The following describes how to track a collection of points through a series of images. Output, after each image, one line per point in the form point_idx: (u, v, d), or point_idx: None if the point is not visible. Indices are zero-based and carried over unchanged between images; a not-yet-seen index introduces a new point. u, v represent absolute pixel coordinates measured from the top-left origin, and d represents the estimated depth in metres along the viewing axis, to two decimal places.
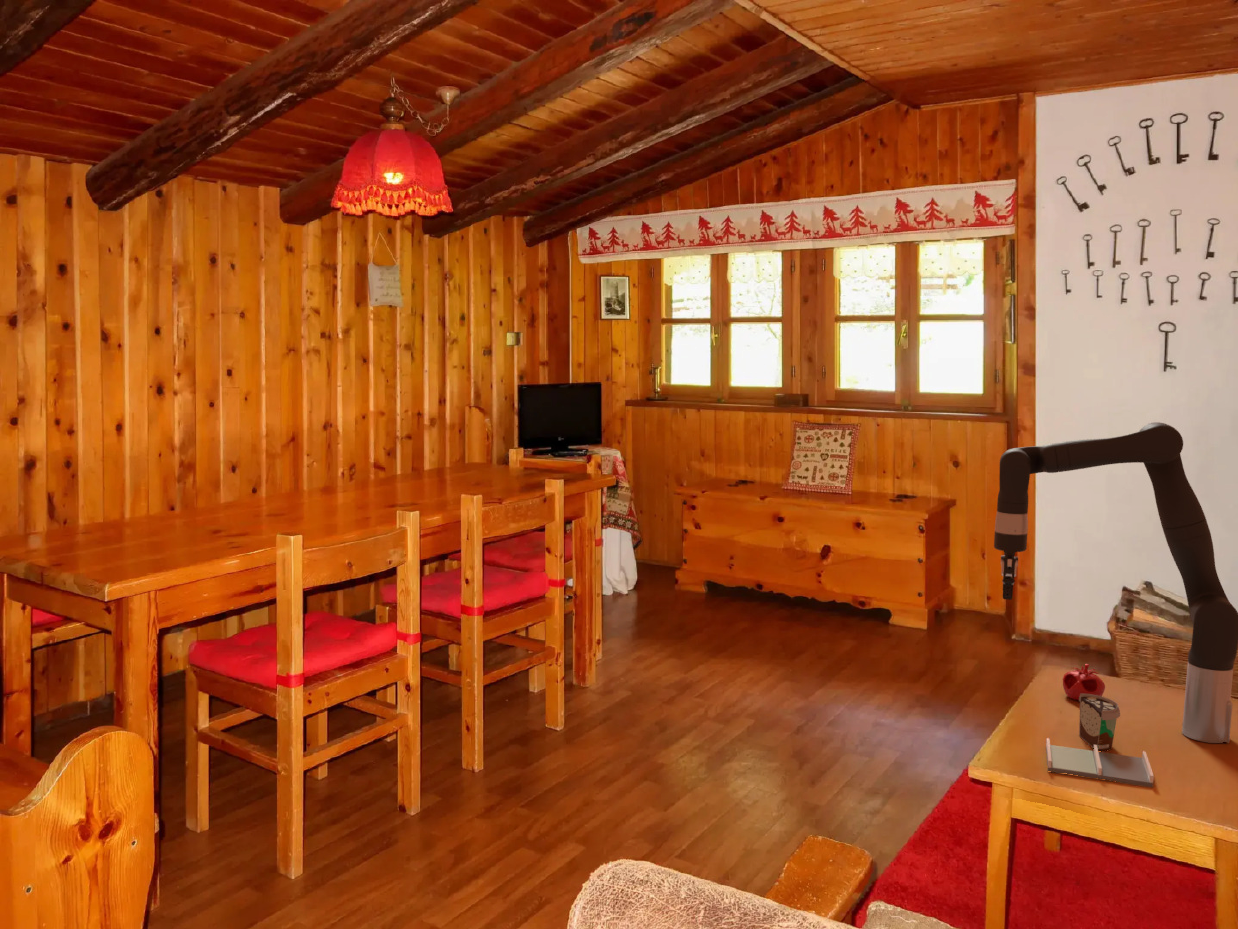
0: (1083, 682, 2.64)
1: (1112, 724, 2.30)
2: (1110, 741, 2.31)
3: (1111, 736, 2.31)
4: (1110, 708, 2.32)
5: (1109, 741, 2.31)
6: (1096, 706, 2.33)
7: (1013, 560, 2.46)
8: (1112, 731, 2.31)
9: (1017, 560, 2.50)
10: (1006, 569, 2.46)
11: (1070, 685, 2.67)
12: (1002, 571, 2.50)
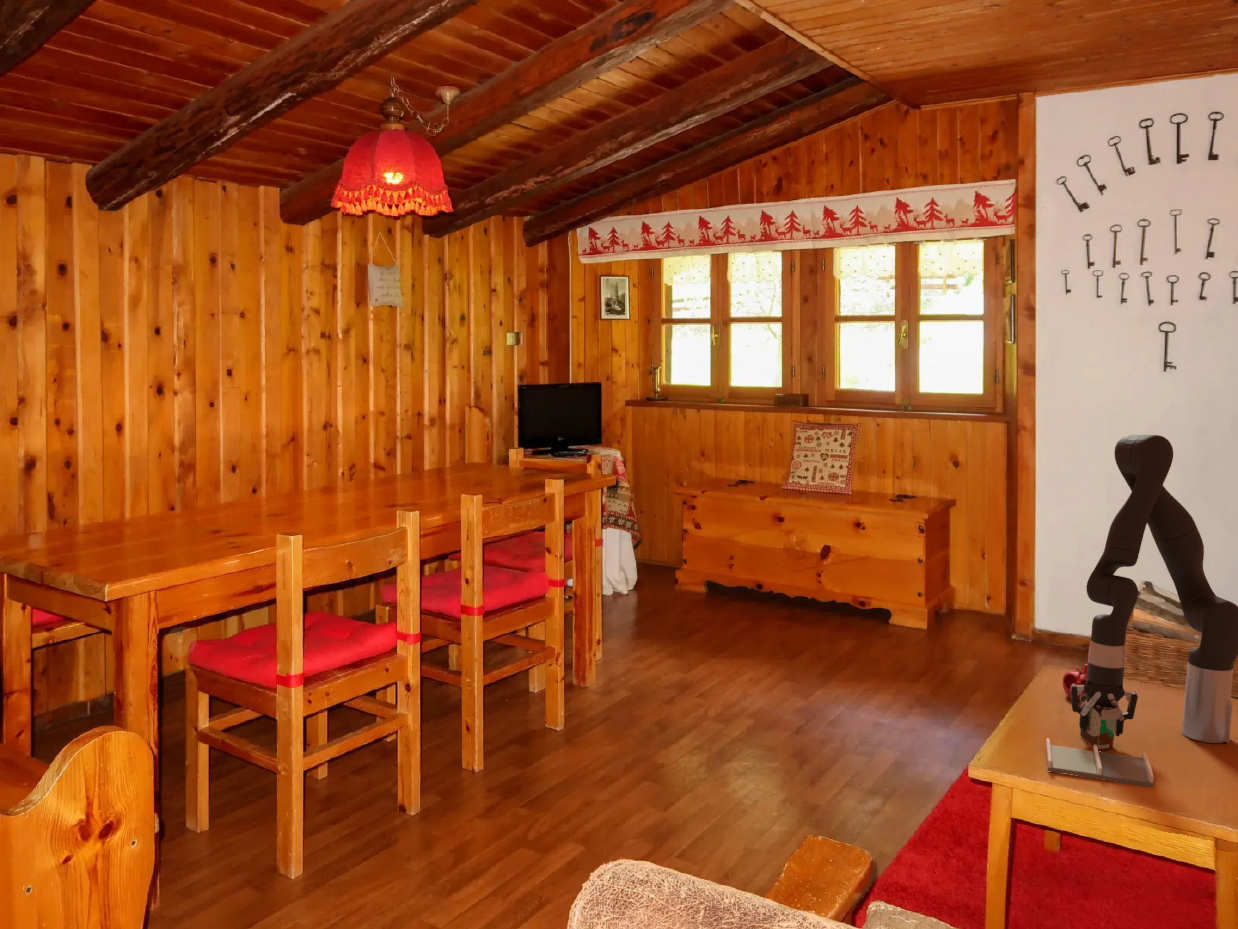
0: (1083, 682, 2.64)
1: (1112, 724, 2.30)
2: (1110, 741, 2.31)
3: (1111, 736, 2.31)
4: (1110, 708, 2.32)
5: (1110, 741, 2.31)
6: (1096, 706, 2.33)
7: (1136, 693, 2.32)
8: (1112, 731, 2.31)
9: None
10: None
11: (1070, 685, 2.67)
12: (1119, 708, 2.32)
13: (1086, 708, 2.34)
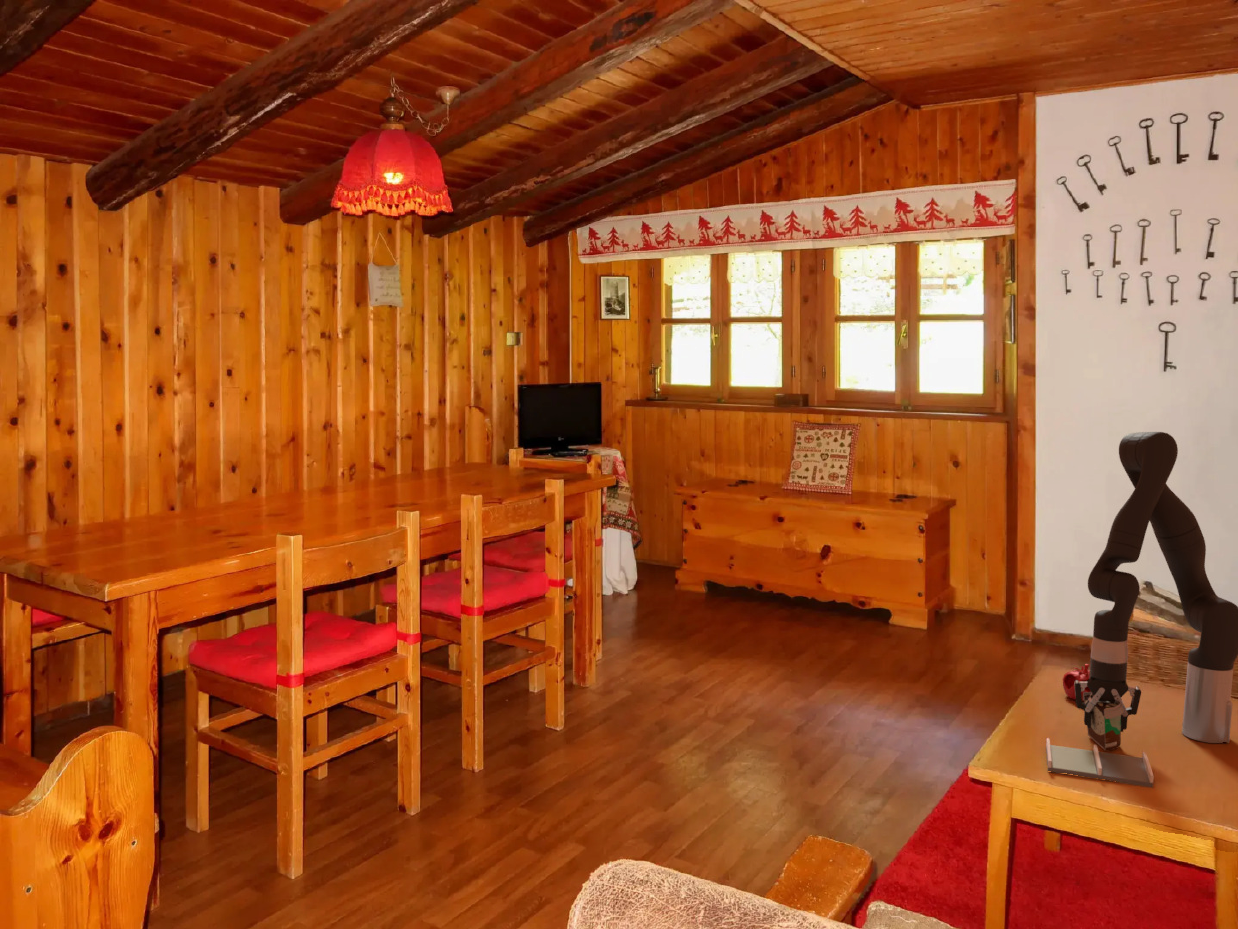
0: None
1: (1117, 721, 2.30)
2: (1117, 738, 2.31)
3: (1117, 733, 2.31)
4: (1113, 705, 2.32)
5: (1117, 738, 2.31)
6: (1099, 705, 2.33)
7: (1139, 688, 2.32)
8: (1118, 728, 2.30)
9: None
10: None
11: (1070, 685, 2.67)
12: (1123, 704, 2.31)
13: (1090, 704, 2.34)
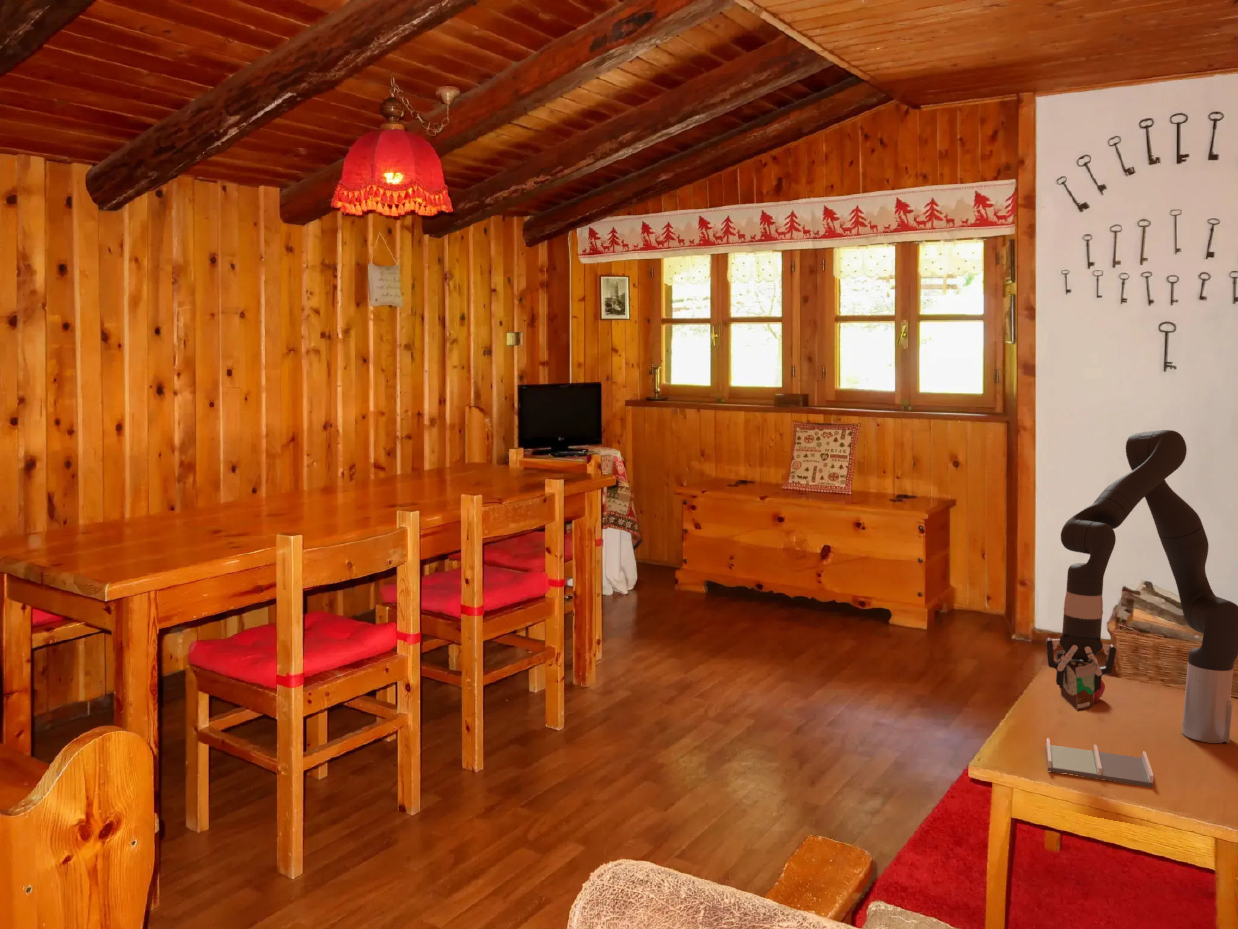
0: None
1: (1090, 680, 2.17)
2: (1090, 698, 2.18)
3: (1090, 693, 2.18)
4: (1086, 663, 2.19)
5: (1090, 699, 2.18)
6: (1071, 663, 2.20)
7: None
8: (1091, 688, 2.18)
9: None
10: None
11: None
12: (1097, 662, 2.19)
13: (1063, 663, 2.21)
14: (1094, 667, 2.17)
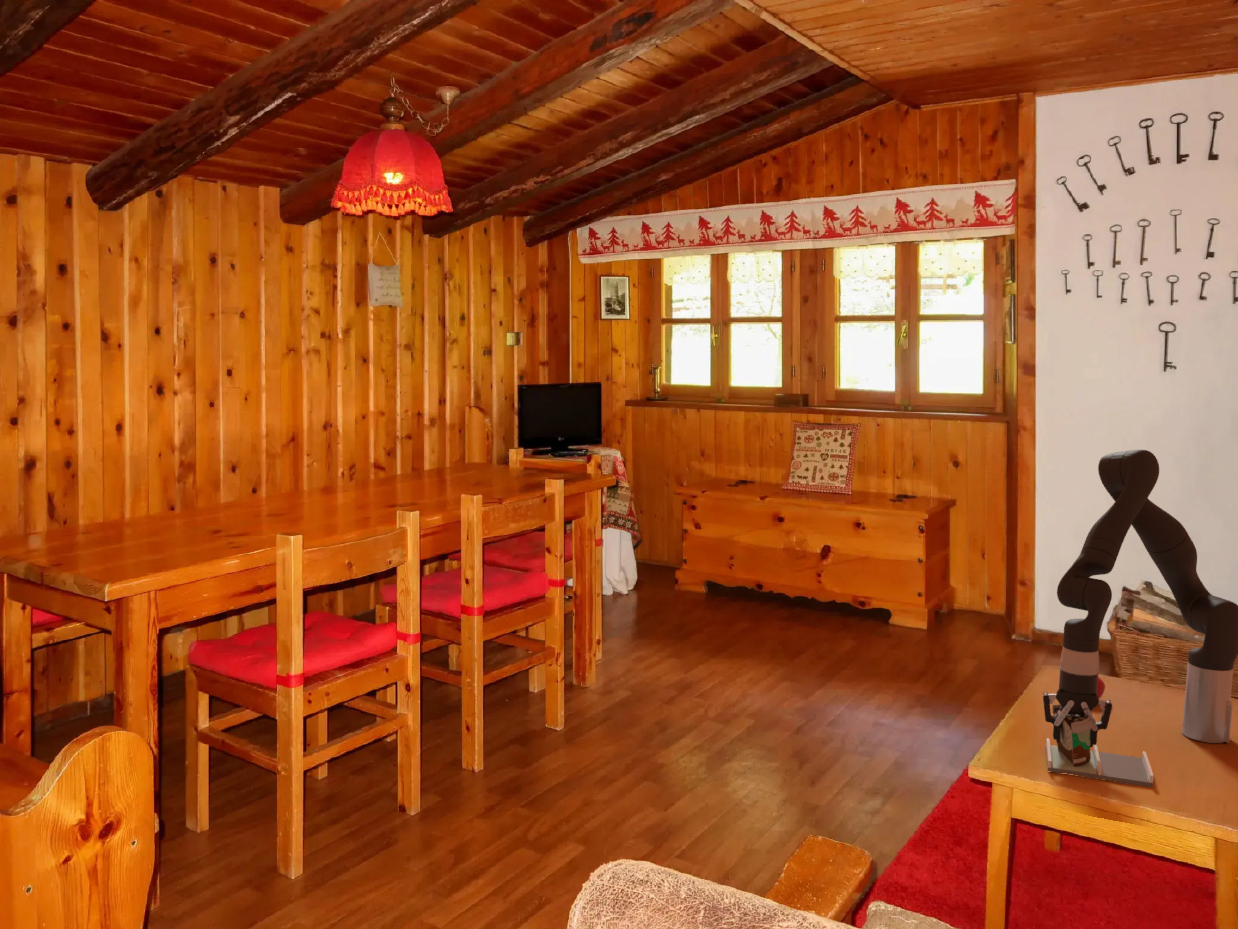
0: None
1: (1085, 736, 2.19)
2: (1086, 753, 2.20)
3: (1086, 748, 2.19)
4: (1082, 719, 2.21)
5: (1086, 754, 2.19)
6: (1067, 718, 2.22)
7: None
8: (1087, 743, 2.19)
9: None
10: None
11: None
12: (1093, 717, 2.20)
13: (1059, 718, 2.23)
14: (1090, 722, 2.19)
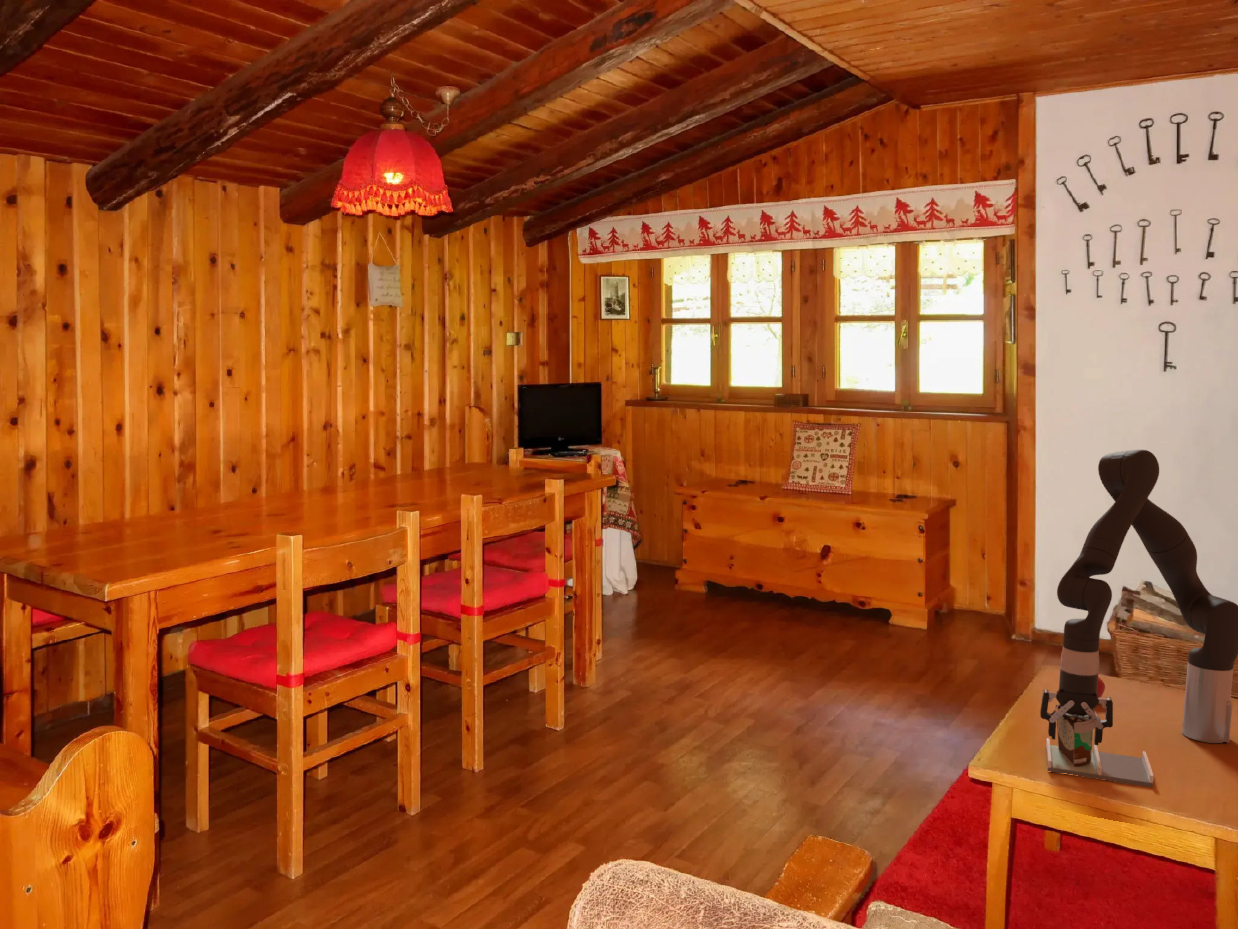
0: None
1: (1088, 736, 2.19)
2: (1087, 754, 2.20)
3: (1088, 749, 2.19)
4: (1085, 719, 2.21)
5: (1087, 755, 2.19)
6: (1070, 718, 2.21)
7: (1111, 699, 2.20)
8: (1088, 744, 2.19)
9: None
10: (1112, 711, 2.19)
11: None
12: (1096, 716, 2.20)
13: (1056, 715, 2.23)
14: (1093, 723, 2.19)
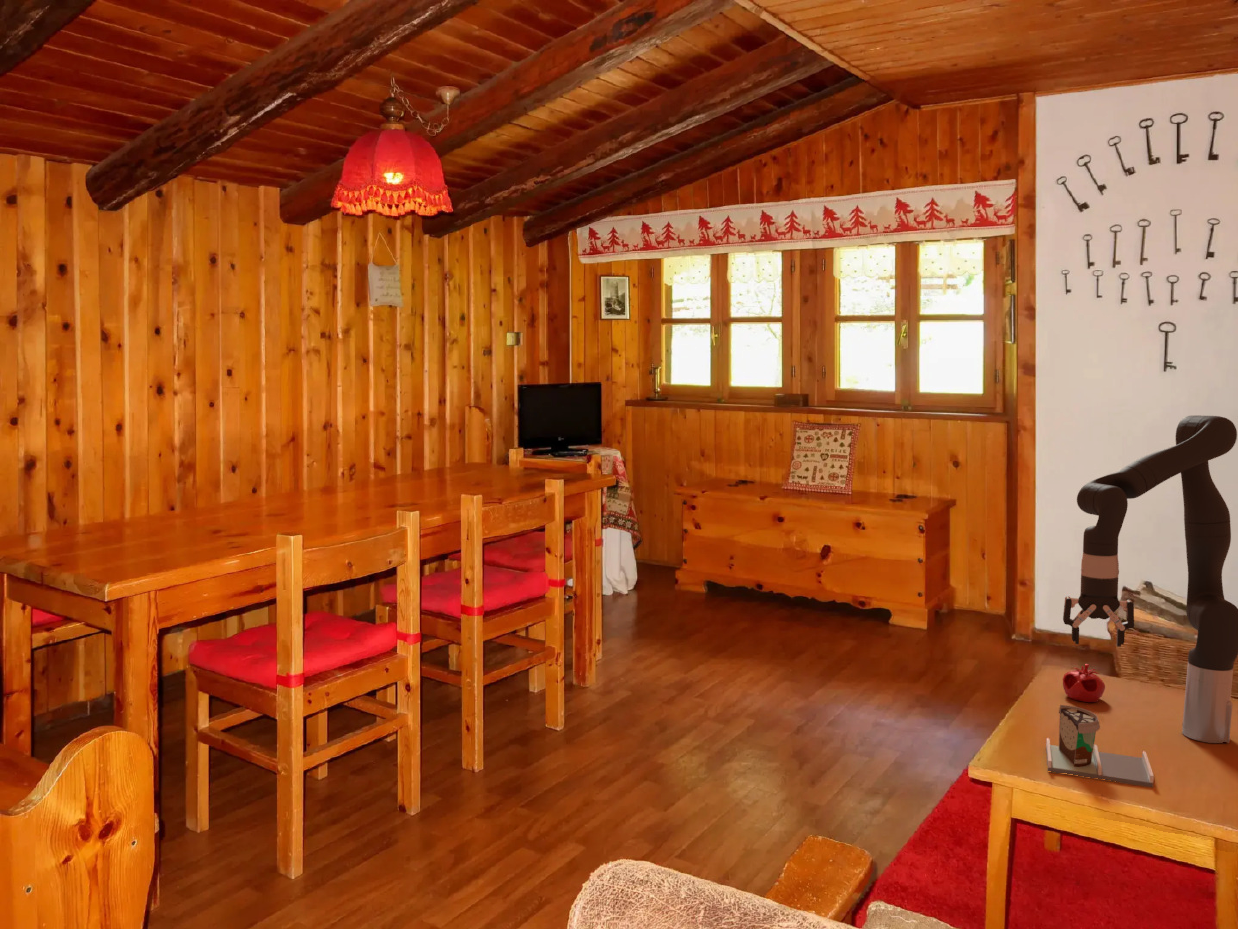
0: (1083, 682, 2.64)
1: (1090, 738, 2.19)
2: (1088, 756, 2.20)
3: (1089, 750, 2.19)
4: (1089, 721, 2.21)
5: (1088, 756, 2.19)
6: (1074, 718, 2.21)
7: (1131, 601, 2.28)
8: (1090, 745, 2.19)
9: None
10: None
11: (1070, 685, 2.67)
12: (1117, 618, 2.27)
13: (1079, 620, 2.30)
14: (1097, 725, 2.19)
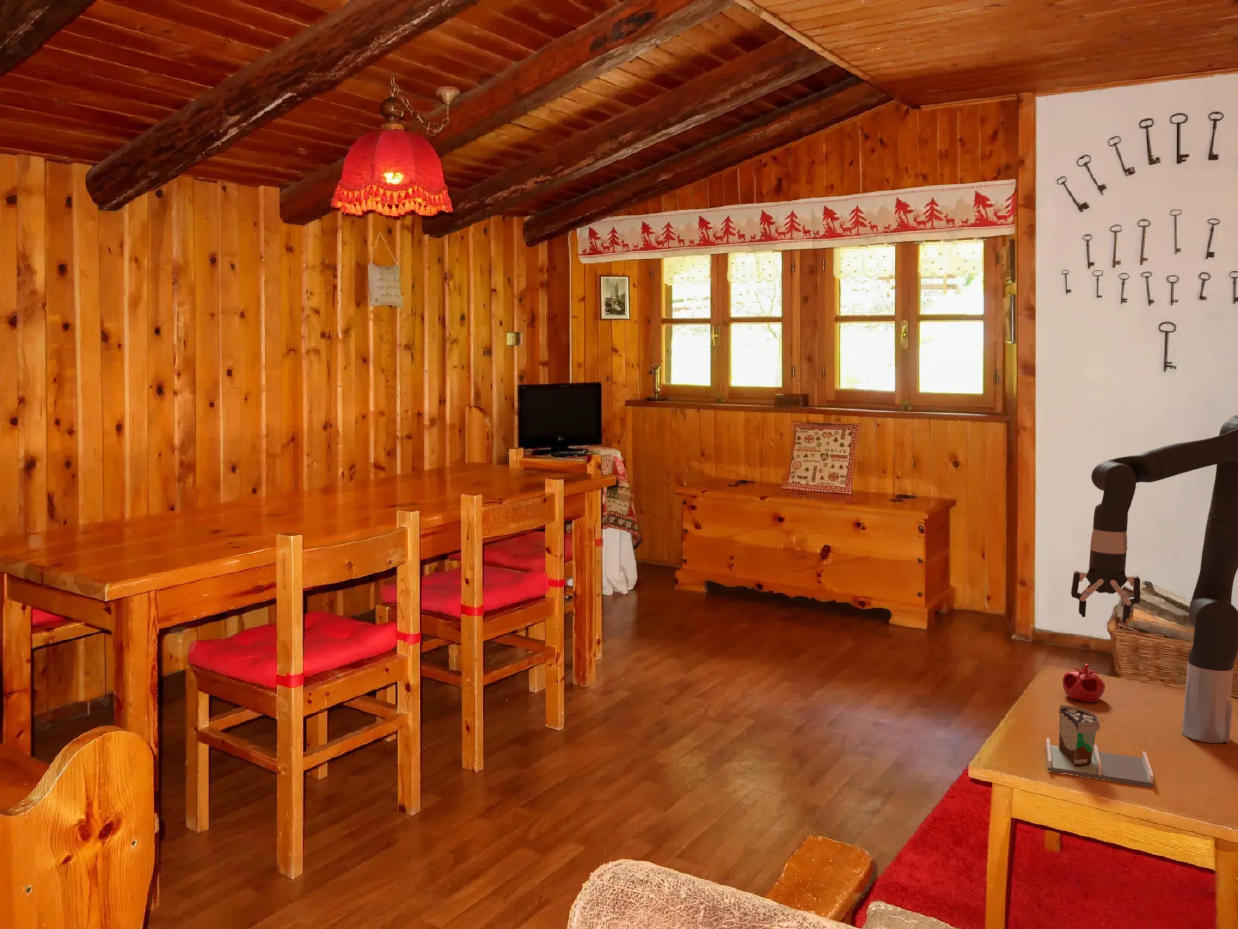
0: (1083, 682, 2.64)
1: (1090, 738, 2.19)
2: (1088, 756, 2.20)
3: (1089, 750, 2.19)
4: (1089, 721, 2.21)
5: (1088, 756, 2.19)
6: (1074, 718, 2.21)
7: (1138, 577, 2.34)
8: (1090, 745, 2.19)
9: None
10: (1139, 588, 2.33)
11: (1070, 685, 2.67)
12: (1124, 593, 2.34)
13: (1086, 594, 2.37)
14: (1097, 725, 2.19)
